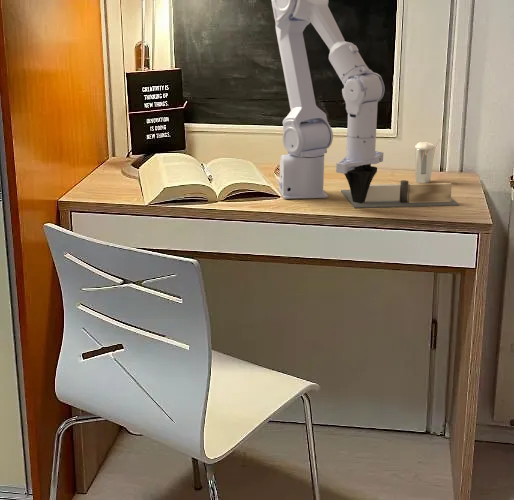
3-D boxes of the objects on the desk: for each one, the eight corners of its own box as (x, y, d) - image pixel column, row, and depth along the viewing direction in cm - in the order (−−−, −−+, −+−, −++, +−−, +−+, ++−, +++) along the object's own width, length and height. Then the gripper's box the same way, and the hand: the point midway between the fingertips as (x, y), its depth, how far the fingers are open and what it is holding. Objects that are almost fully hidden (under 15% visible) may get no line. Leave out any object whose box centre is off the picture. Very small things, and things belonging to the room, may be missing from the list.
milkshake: (436, 184, 204) (439, 140, 201) (412, 183, 205) (415, 139, 202) (436, 180, 208) (439, 137, 205) (413, 178, 209) (416, 136, 206)
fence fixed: (400, 202, 188) (401, 182, 186) (398, 200, 189) (399, 180, 188) (450, 201, 189) (452, 181, 188) (448, 199, 191) (450, 179, 189)
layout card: (354, 208, 185) (354, 206, 185) (340, 191, 198) (341, 189, 198) (458, 205, 187) (458, 203, 187) (438, 189, 200) (438, 187, 200)
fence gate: (398, 198, 189) (398, 183, 188) (399, 200, 188) (400, 185, 187) (355, 199, 188) (356, 184, 187) (357, 201, 187) (357, 186, 186)
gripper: (358, 143, 171) (356, 212, 175) (397, 132, 182) (394, 198, 186) (328, 139, 175) (326, 206, 180) (367, 128, 186) (364, 192, 190)
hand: (358, 201), depth 183 cm, fingers closed
